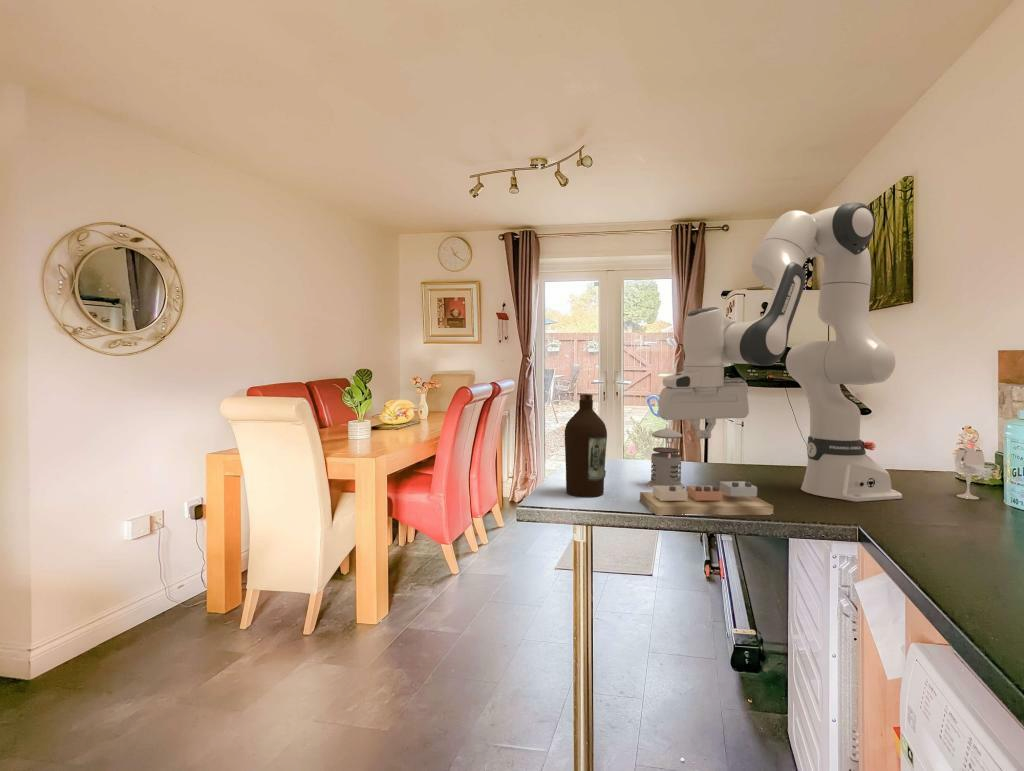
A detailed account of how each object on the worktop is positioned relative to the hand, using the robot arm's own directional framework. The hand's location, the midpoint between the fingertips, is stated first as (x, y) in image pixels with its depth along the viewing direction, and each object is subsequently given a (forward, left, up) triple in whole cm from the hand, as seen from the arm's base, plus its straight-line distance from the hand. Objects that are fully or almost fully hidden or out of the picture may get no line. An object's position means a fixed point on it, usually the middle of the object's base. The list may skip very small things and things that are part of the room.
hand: (703, 438), depth 129 cm
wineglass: (-71, -6, -16) cm, 73 cm away
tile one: (+8, +2, -13) cm, 16 cm away
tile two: (-8, +2, -13) cm, 15 cm away
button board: (0, +2, -16) cm, 16 cm away
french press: (+1, -21, -16) cm, 27 cm away
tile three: (0, +2, -13) cm, 14 cm away
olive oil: (+25, -12, -16) cm, 32 cm away
